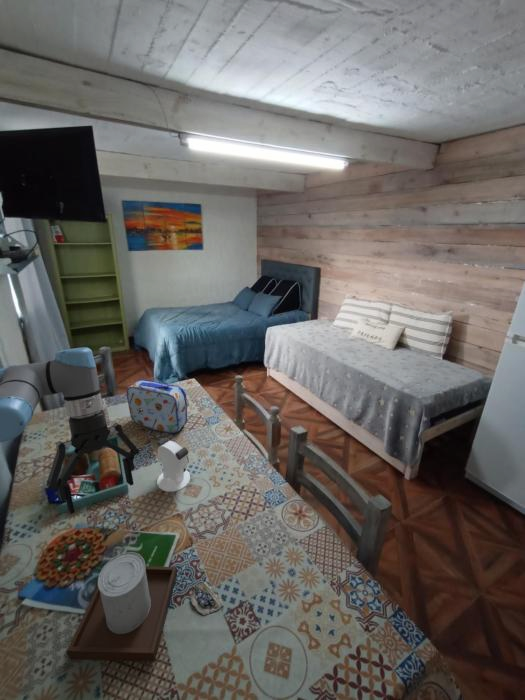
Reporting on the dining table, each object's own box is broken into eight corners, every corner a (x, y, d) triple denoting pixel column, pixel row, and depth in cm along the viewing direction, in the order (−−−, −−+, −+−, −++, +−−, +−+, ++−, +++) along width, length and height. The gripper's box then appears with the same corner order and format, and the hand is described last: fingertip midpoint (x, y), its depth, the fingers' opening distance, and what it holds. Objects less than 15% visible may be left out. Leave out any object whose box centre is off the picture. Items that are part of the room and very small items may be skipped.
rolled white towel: (107, 596, 75) (99, 559, 71) (150, 582, 79) (144, 546, 74) (104, 641, 67) (95, 603, 63) (151, 624, 70) (146, 586, 66)
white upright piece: (198, 477, 114) (196, 443, 108) (173, 497, 105) (170, 461, 99) (175, 464, 120) (172, 430, 115) (150, 482, 111) (146, 446, 106)
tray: (69, 659, 65) (66, 650, 64) (109, 573, 81) (107, 564, 80) (154, 661, 65) (153, 653, 64) (177, 574, 81) (176, 566, 80)
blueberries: (200, 579, 81) (199, 574, 80) (228, 591, 78) (228, 586, 77) (184, 606, 75) (184, 601, 74) (214, 621, 72) (214, 615, 71)
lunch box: (193, 425, 144) (191, 381, 136) (181, 438, 135) (178, 392, 127) (142, 414, 152) (137, 372, 144) (128, 426, 142) (121, 382, 134)
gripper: (24, 436, 63) (45, 532, 66) (144, 400, 80) (157, 477, 83) (18, 428, 68) (38, 517, 71) (132, 396, 85) (144, 469, 88)
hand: (102, 496), depth 77 cm, fingers open, 13 cm apart
